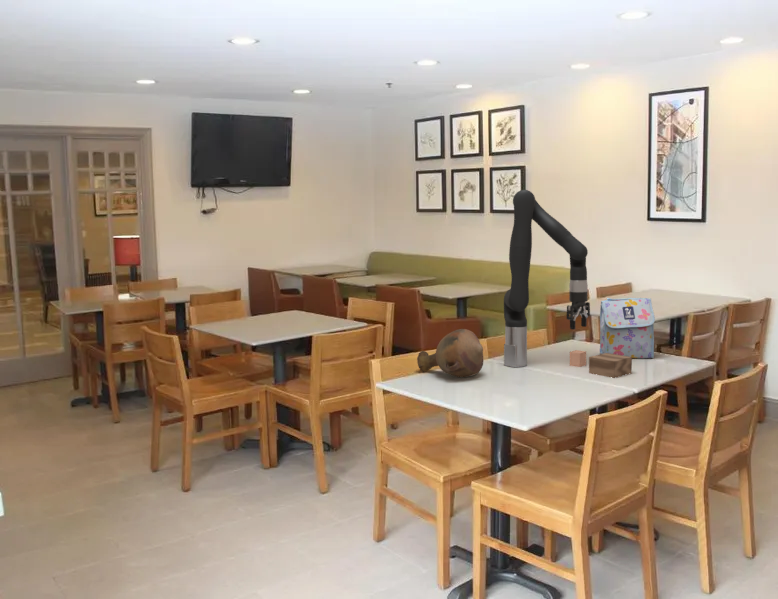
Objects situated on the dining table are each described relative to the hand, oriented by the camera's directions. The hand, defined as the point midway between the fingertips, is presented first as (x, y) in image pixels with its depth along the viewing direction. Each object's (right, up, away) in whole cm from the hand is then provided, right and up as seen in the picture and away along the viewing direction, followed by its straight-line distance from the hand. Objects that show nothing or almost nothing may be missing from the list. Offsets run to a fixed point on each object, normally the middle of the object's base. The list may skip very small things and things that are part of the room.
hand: (578, 327), depth 330 cm
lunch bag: (+26, -14, +17) cm, 34 cm away
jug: (-55, -19, -10) cm, 60 cm away
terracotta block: (0, -16, +2) cm, 16 cm away
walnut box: (+10, -18, -14) cm, 25 cm away
